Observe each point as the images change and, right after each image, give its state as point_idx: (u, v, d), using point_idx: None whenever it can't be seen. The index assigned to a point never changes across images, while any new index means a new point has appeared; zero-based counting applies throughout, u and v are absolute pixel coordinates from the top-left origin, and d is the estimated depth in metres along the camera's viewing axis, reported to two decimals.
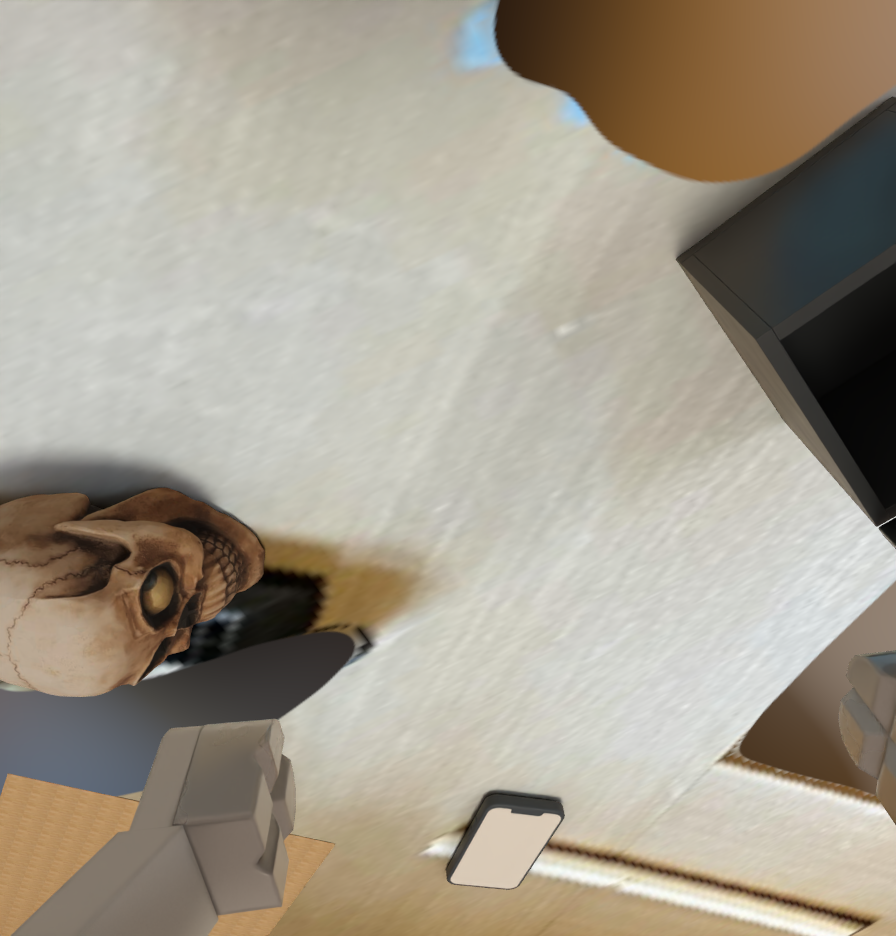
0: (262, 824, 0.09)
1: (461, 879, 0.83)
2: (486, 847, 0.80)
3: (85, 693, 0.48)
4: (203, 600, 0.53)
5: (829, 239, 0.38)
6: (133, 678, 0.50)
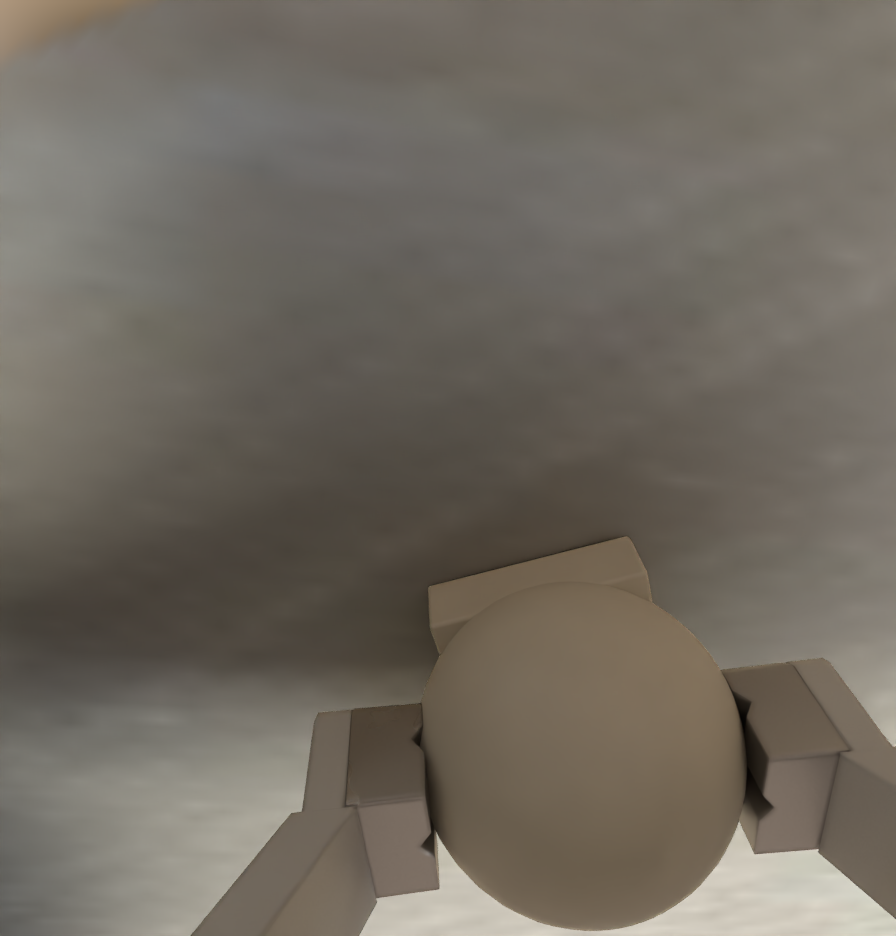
0: (428, 806, 0.09)
1: None
2: None
3: None
4: None
5: None
6: None
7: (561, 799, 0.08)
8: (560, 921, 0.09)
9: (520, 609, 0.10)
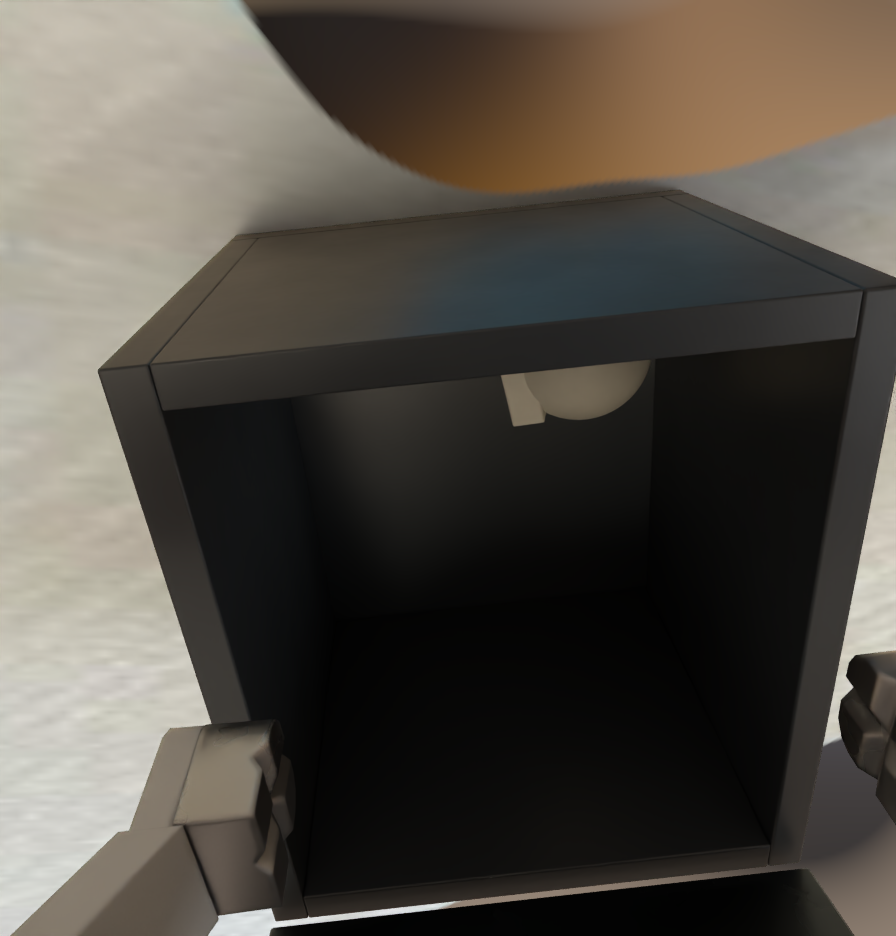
0: (262, 824, 0.09)
1: None
2: None
3: None
4: None
5: (426, 283, 0.16)
6: None
7: None
8: (648, 362, 0.22)
9: None
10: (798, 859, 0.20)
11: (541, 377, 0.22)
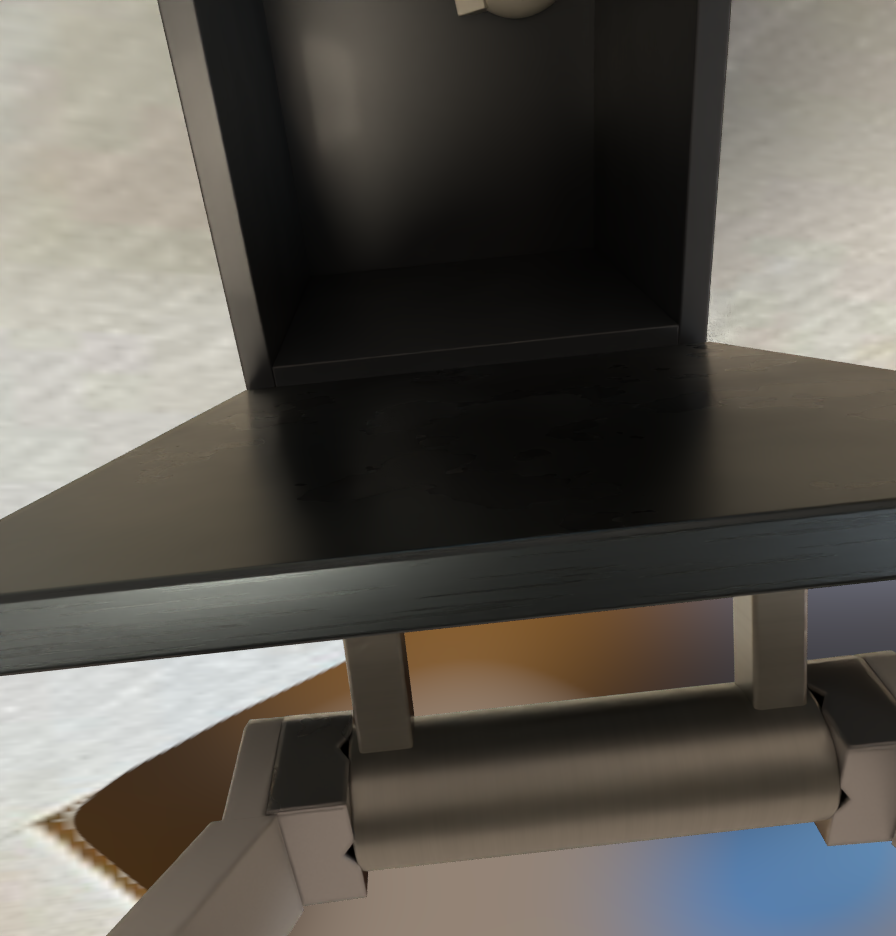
0: (351, 814, 0.09)
1: None
2: None
3: None
4: None
5: None
6: None
7: None
8: None
9: None
10: None
11: None
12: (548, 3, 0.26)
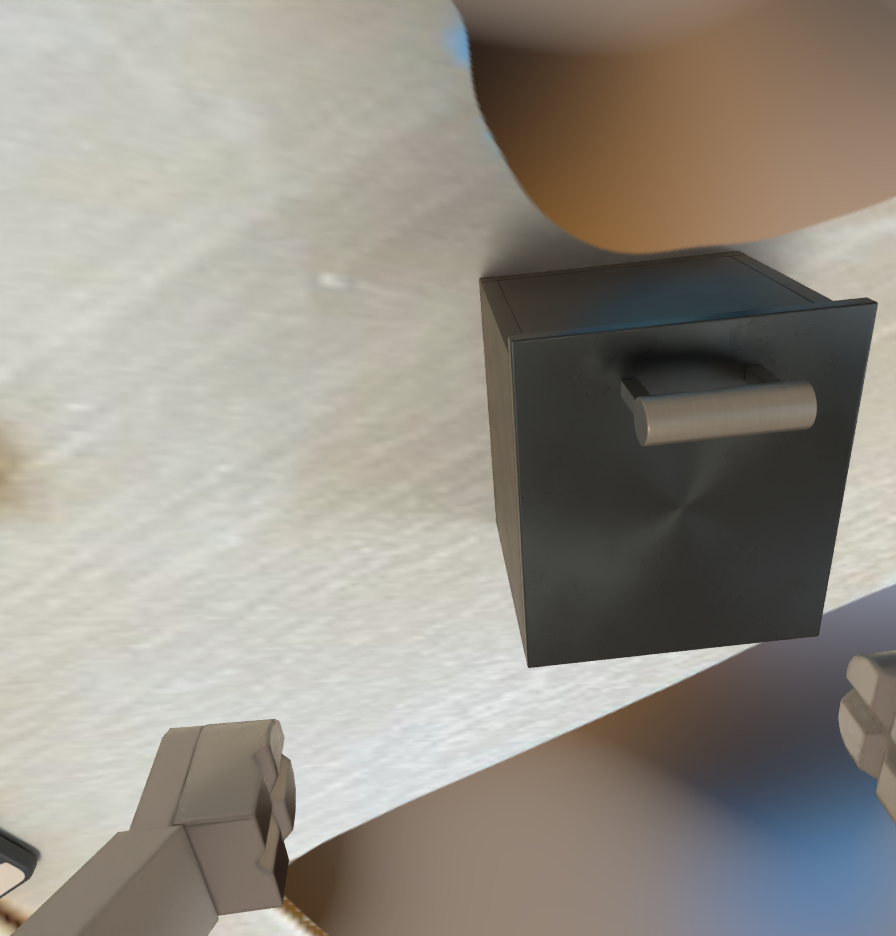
0: (262, 824, 0.09)
1: None
2: None
3: None
4: None
5: (629, 312, 0.33)
6: None
7: None
8: None
9: None
10: None
11: None
12: None
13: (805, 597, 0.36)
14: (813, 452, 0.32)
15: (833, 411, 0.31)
